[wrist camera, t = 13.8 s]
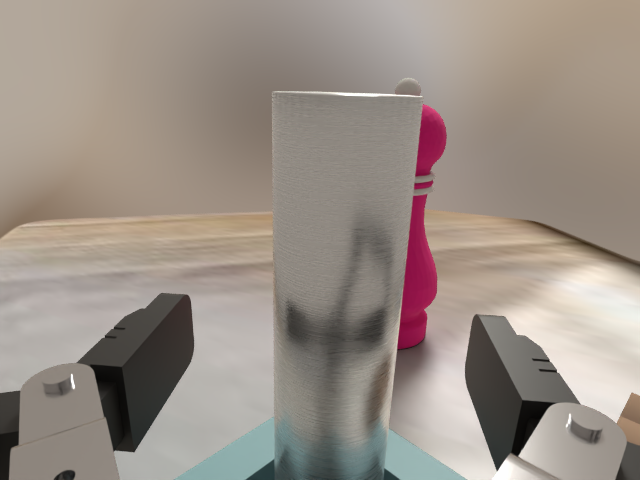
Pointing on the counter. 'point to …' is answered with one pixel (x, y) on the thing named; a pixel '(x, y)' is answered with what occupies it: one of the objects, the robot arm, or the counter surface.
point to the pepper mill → (420, 226)
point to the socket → (259, 460)
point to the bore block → (631, 419)
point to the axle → (338, 275)
